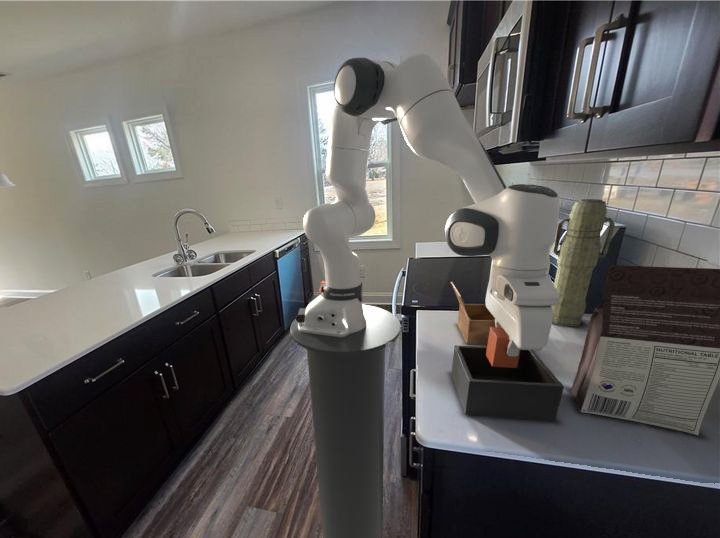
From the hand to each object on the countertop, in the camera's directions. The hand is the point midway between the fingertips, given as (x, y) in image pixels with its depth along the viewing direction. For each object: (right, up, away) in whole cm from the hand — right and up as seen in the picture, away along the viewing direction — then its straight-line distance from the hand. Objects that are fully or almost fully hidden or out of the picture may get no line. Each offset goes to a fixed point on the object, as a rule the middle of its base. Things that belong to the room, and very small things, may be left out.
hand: (505, 346), depth 62 cm
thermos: (+37, +3, +34) cm, 51 cm away
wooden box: (+12, -1, +29) cm, 31 cm away
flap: (+3, +10, +26) cm, 28 cm away
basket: (+1, -11, +4) cm, 12 cm away
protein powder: (+22, -12, -2) cm, 25 cm away
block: (0, -3, +1) cm, 3 cm away
